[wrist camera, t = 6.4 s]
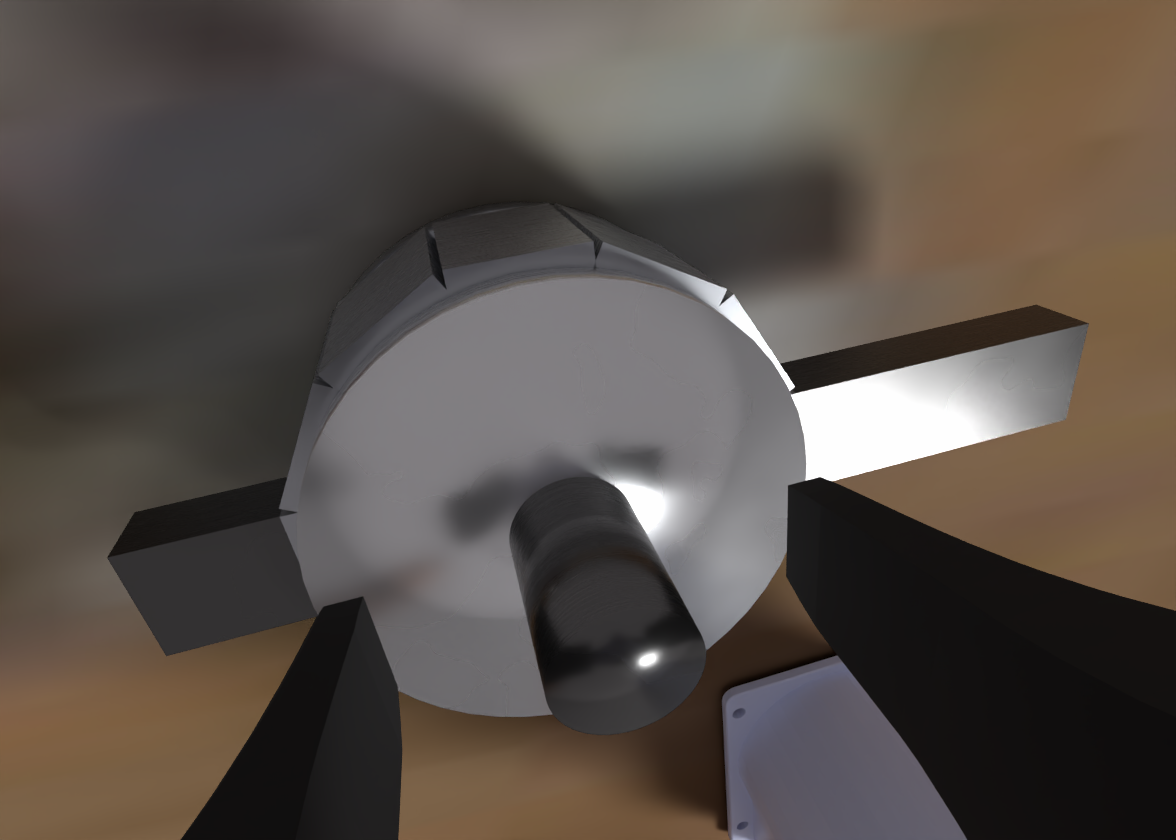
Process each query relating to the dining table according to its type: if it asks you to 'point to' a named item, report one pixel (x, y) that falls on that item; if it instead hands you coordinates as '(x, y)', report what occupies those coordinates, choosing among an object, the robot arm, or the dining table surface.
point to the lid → (554, 495)
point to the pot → (579, 239)
